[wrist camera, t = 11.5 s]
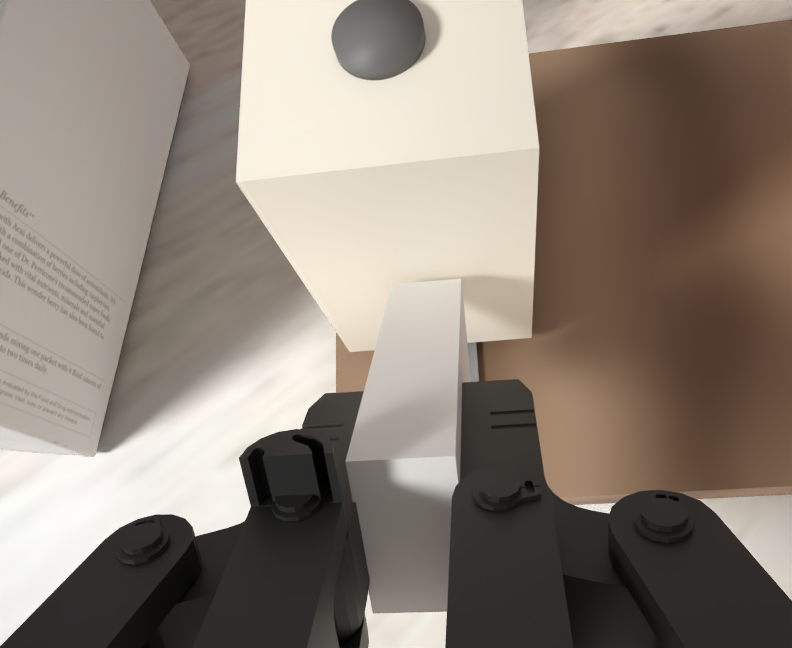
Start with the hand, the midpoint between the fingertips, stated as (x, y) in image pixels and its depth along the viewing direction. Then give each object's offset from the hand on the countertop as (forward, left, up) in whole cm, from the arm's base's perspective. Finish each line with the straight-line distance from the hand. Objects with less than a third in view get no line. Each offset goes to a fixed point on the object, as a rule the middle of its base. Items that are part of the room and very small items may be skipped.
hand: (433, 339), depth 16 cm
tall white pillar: (0, +4, -4) cm, 5 cm away
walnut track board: (+7, +4, -6) cm, 10 cm away
